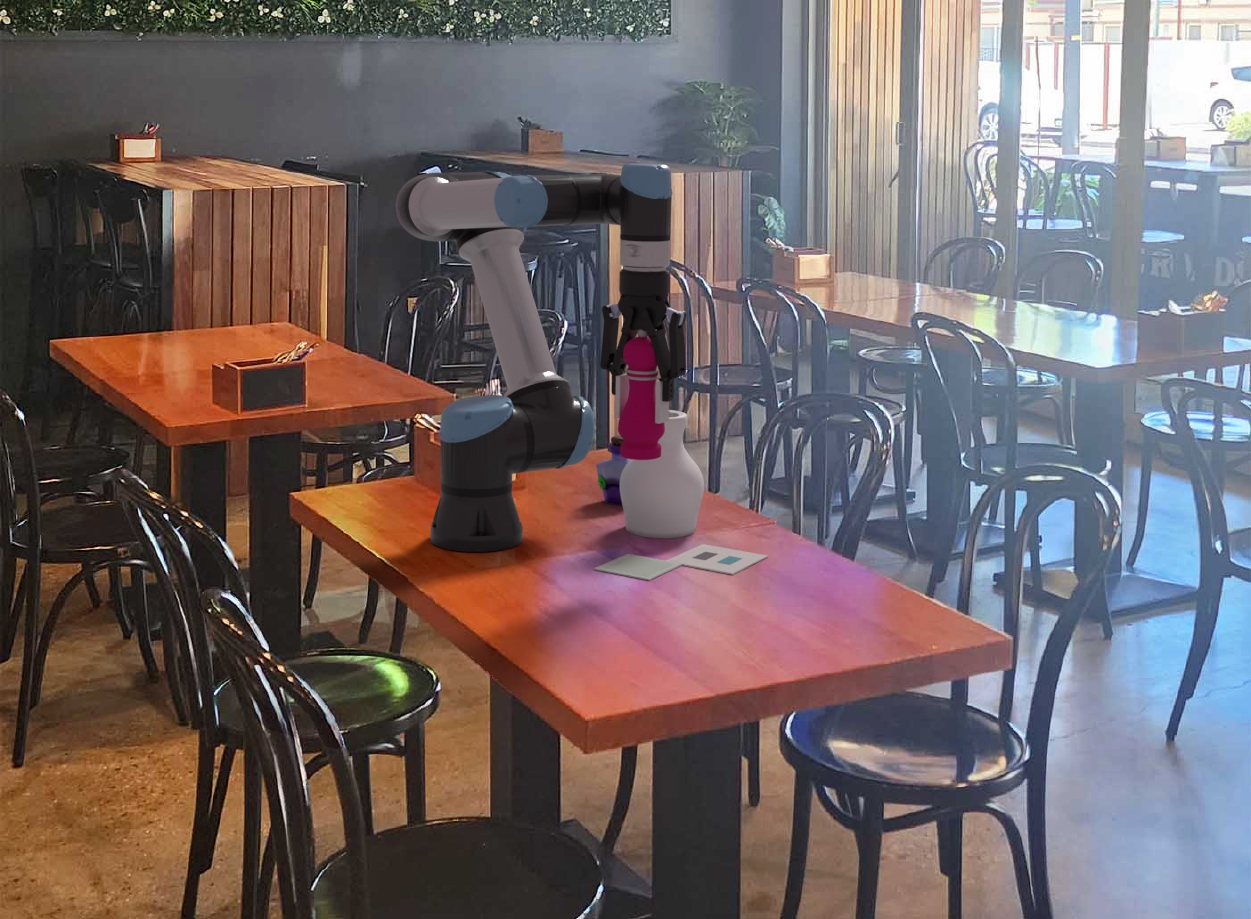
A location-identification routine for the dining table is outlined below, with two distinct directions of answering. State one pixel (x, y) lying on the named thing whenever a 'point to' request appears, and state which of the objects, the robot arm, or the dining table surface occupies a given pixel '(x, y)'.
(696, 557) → the tile
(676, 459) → the vase
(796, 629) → the dining table surface
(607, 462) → the potion bottle
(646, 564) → the coaster
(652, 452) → the pepper mill
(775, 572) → the dining table surface
